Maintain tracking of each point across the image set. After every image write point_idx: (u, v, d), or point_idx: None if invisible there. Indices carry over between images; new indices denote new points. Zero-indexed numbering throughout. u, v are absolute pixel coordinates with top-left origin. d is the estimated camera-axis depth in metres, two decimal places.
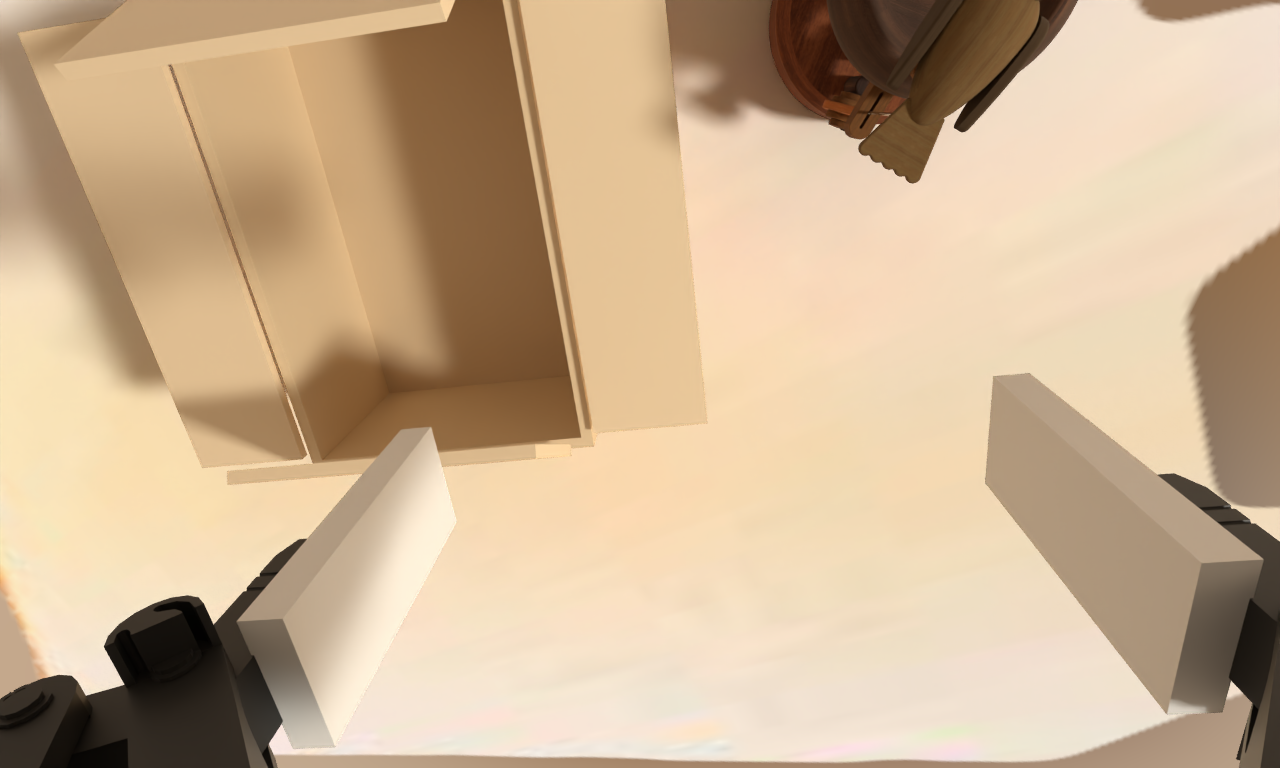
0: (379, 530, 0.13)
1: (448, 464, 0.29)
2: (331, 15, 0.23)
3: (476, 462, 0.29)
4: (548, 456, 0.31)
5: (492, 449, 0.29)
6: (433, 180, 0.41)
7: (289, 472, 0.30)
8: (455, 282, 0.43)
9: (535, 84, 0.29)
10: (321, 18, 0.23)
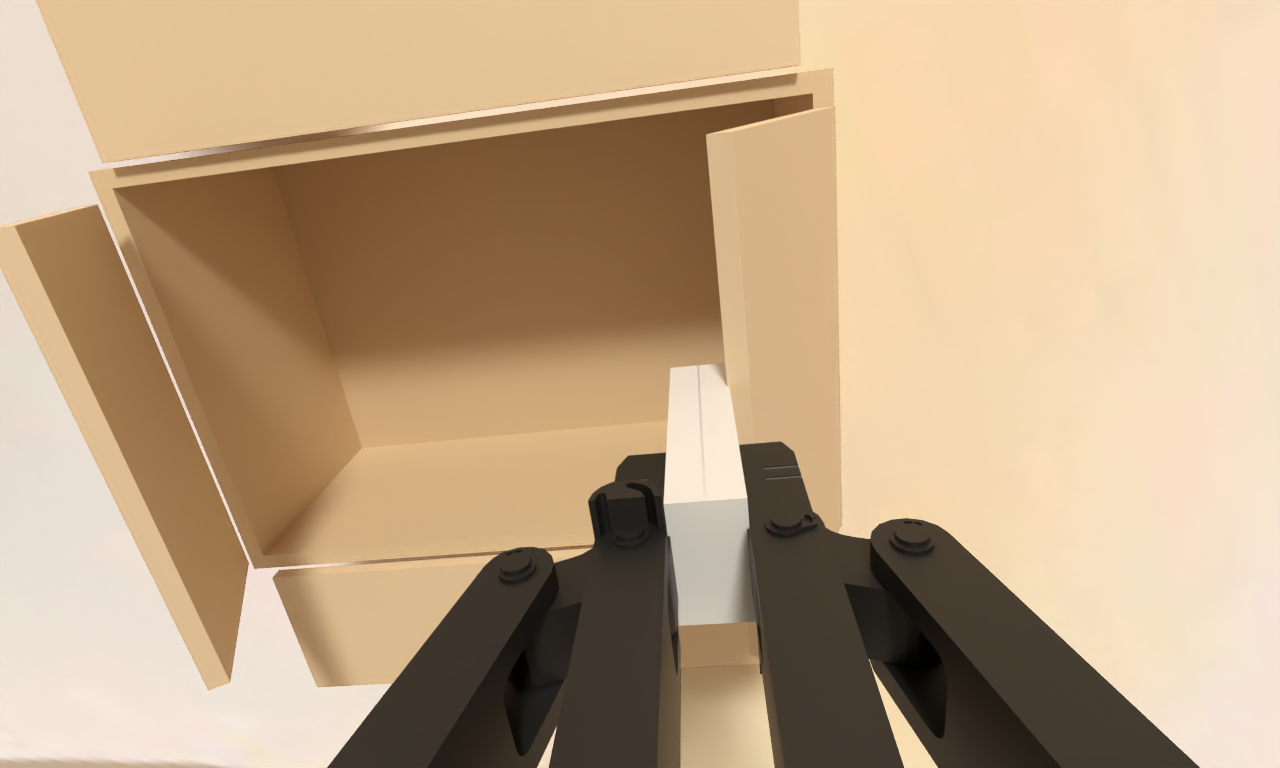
0: None
1: (742, 313, 0.15)
2: None
3: (739, 258, 0.15)
4: (769, 122, 0.15)
5: (716, 225, 0.15)
6: (505, 313, 0.33)
7: None
8: (633, 302, 0.33)
9: (247, 140, 0.21)
10: None
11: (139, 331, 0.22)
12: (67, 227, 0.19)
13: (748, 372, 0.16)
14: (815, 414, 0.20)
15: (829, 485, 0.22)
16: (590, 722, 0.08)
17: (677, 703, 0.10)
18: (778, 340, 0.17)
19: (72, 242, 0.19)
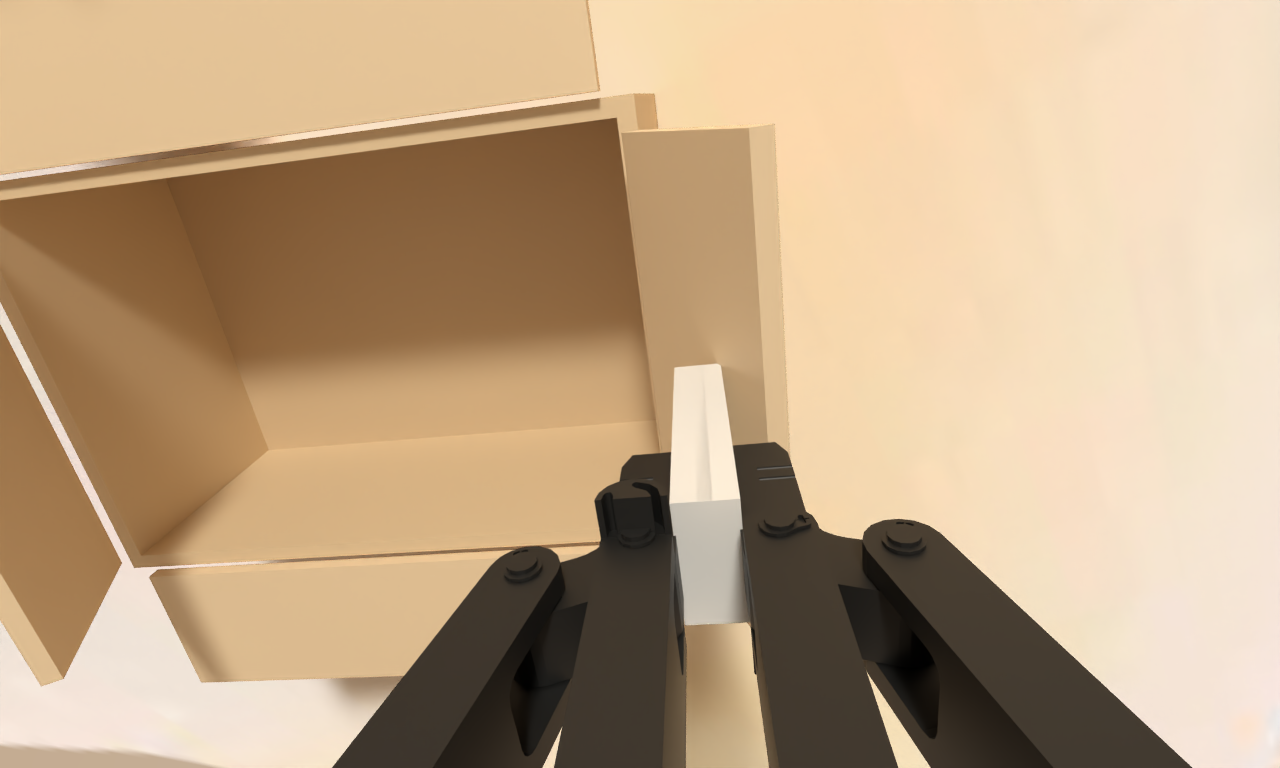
0: None
1: (781, 306, 0.15)
2: None
3: (778, 251, 0.15)
4: (720, 126, 0.16)
5: (756, 221, 0.14)
6: (397, 321, 0.34)
7: None
8: (519, 311, 0.33)
9: (84, 160, 0.22)
10: None
11: None
12: None
13: (784, 365, 0.16)
14: None
15: None
16: (596, 722, 0.08)
17: (682, 703, 0.10)
18: None
19: None
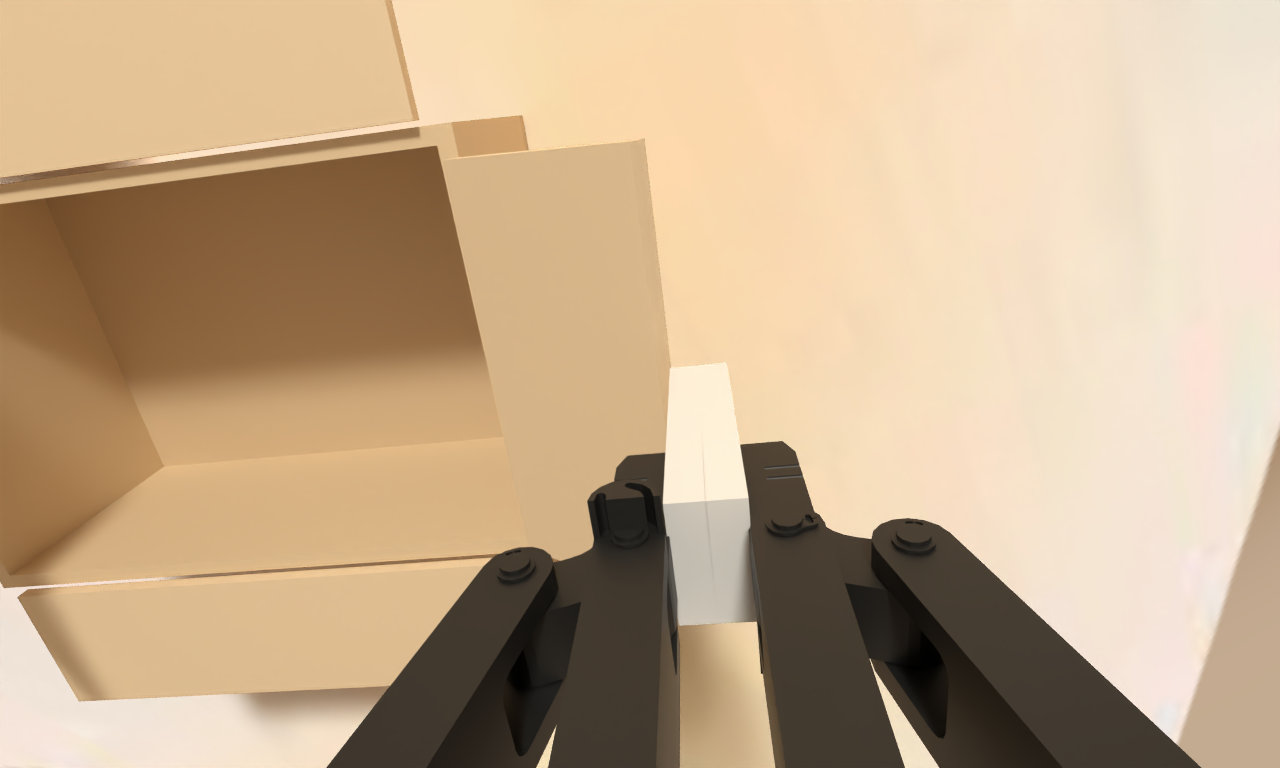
0: None
1: (661, 291, 0.18)
2: None
3: (655, 245, 0.17)
4: (577, 145, 0.18)
5: (640, 220, 0.17)
6: (283, 338, 0.34)
7: None
8: (403, 328, 0.34)
9: None
10: None
11: None
12: None
13: (667, 342, 0.19)
14: None
15: None
16: (589, 722, 0.08)
17: (676, 703, 0.10)
18: None
19: None
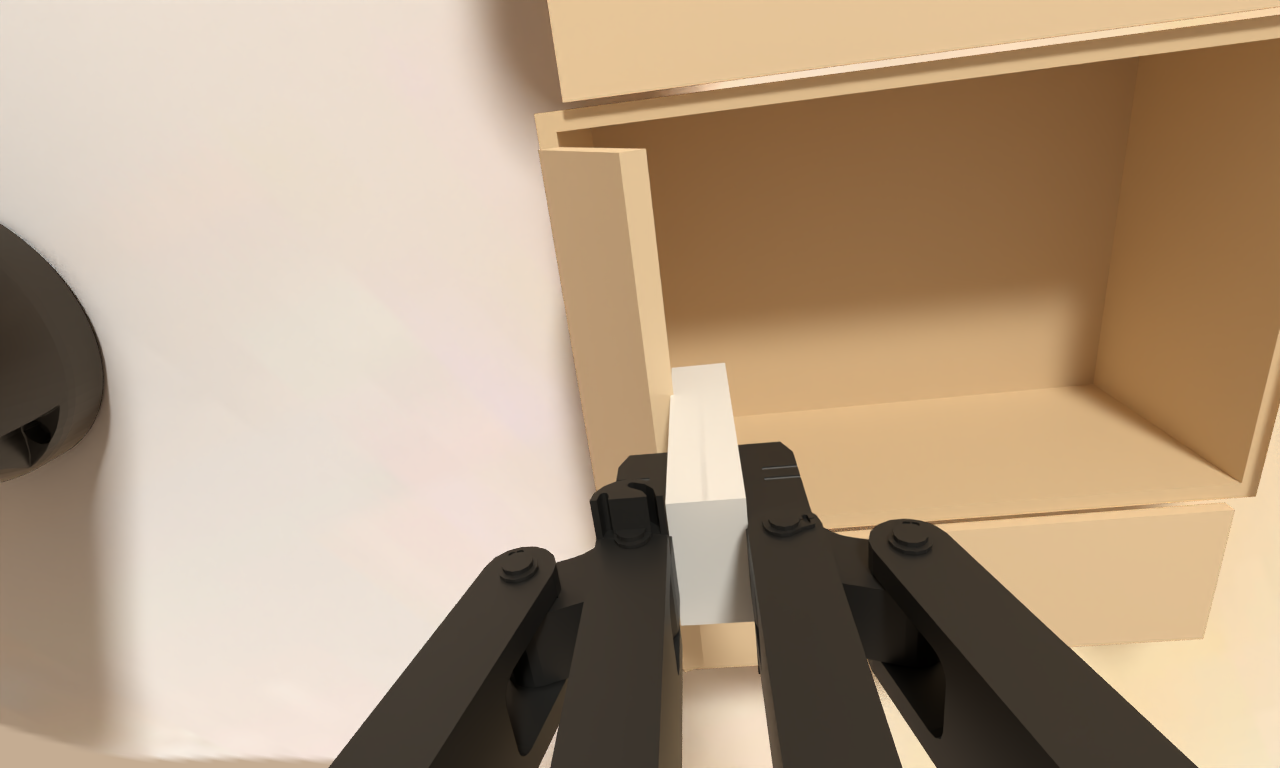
0: None
1: None
2: (635, 328, 0.16)
3: None
4: None
5: None
6: (812, 283, 0.32)
7: None
8: (950, 271, 0.31)
9: (731, 77, 0.20)
10: (639, 342, 0.16)
11: None
12: None
13: None
14: None
15: None
16: (592, 722, 0.08)
17: (679, 703, 0.10)
18: None
19: None
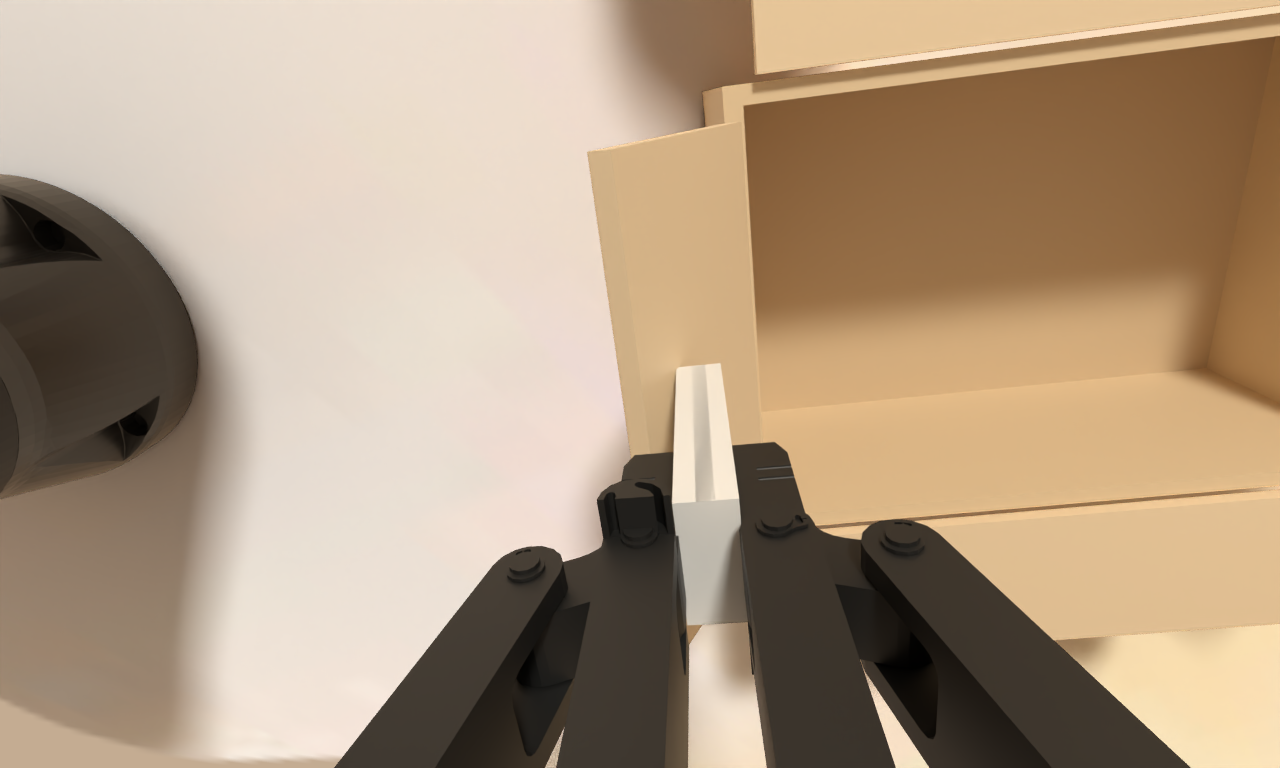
0: None
1: None
2: None
3: None
4: None
5: None
6: (932, 267, 0.32)
7: None
8: (1072, 254, 0.31)
9: (932, 48, 0.19)
10: None
11: (733, 267, 0.20)
12: (686, 149, 0.17)
13: None
14: None
15: None
16: (598, 722, 0.08)
17: (685, 703, 0.10)
18: None
19: (685, 166, 0.17)
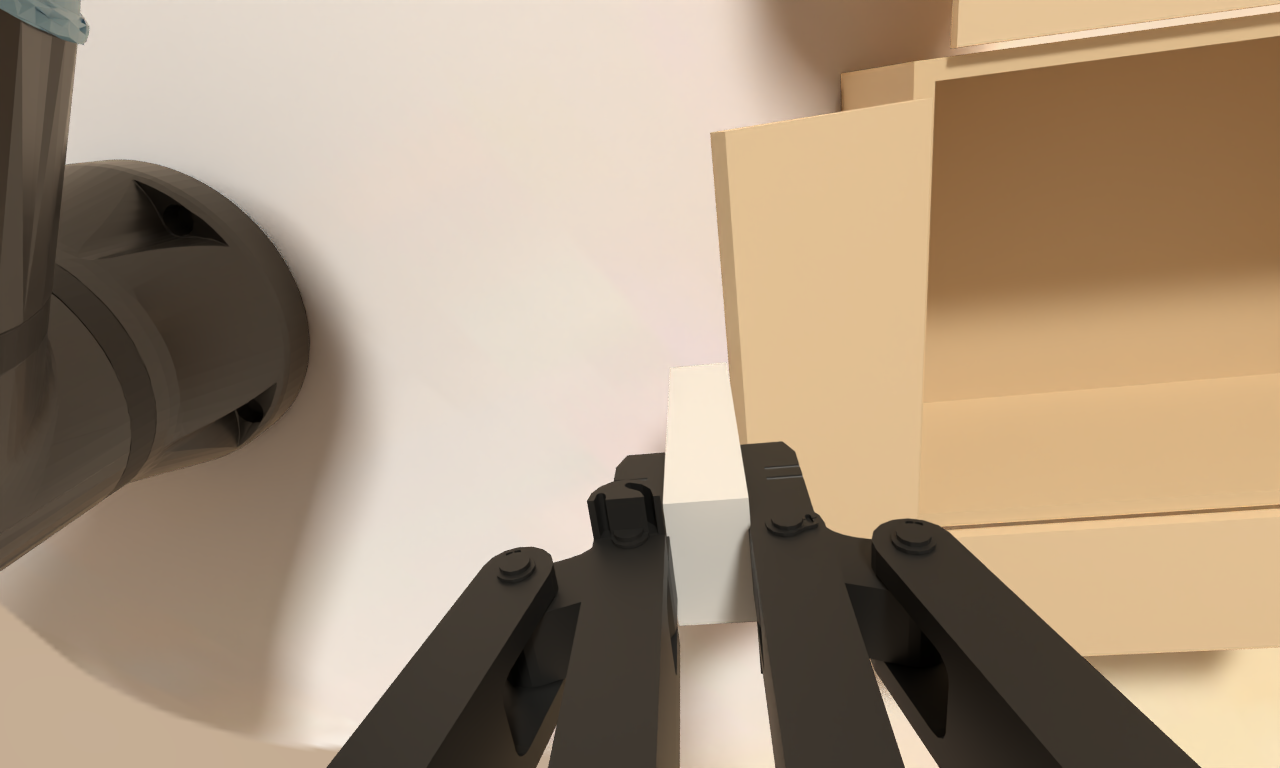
0: None
1: None
2: None
3: None
4: None
5: None
6: (1073, 257, 0.30)
7: None
8: (1225, 244, 0.30)
9: (1150, 18, 0.18)
10: None
11: (897, 251, 0.20)
12: (834, 129, 0.17)
13: None
14: None
15: None
16: (589, 722, 0.08)
17: (676, 703, 0.10)
18: None
19: (830, 146, 0.17)
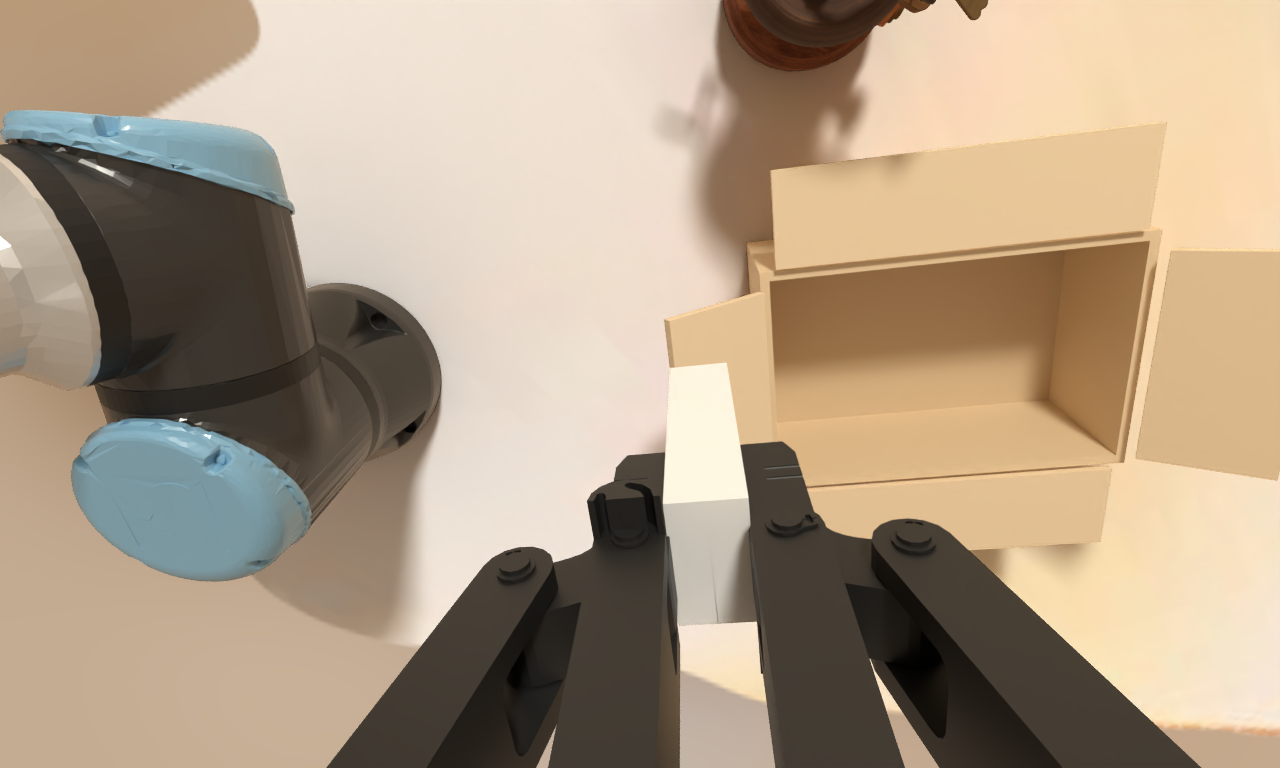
0: None
1: None
2: None
3: None
4: None
5: None
6: (879, 340, 0.54)
7: None
8: (962, 333, 0.54)
9: (857, 260, 0.42)
10: None
11: (752, 358, 0.43)
12: (717, 313, 0.41)
13: None
14: None
15: None
16: (589, 722, 0.08)
17: (676, 703, 0.10)
18: None
19: (716, 319, 0.41)
